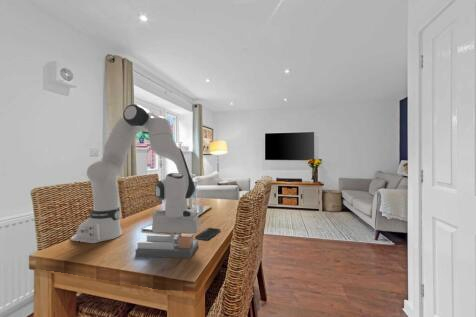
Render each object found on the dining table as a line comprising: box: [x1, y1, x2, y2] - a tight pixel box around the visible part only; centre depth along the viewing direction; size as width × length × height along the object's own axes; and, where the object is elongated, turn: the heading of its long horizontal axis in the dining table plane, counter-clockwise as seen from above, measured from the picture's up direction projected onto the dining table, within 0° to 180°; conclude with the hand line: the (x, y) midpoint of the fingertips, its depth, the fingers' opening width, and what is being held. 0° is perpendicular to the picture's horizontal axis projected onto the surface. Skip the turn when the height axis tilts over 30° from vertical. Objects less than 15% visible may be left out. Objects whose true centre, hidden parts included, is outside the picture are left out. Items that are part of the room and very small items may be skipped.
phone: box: [194, 227, 221, 242], centre depth 111 cm, size 8×1×15 cm
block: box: [178, 233, 194, 248], centre depth 91 cm, size 5×5×4 cm
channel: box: [135, 234, 199, 259], centre depth 92 cm, size 23×12×5 cm, turn 86°
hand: (175, 242), depth 91 cm, fingers closed
